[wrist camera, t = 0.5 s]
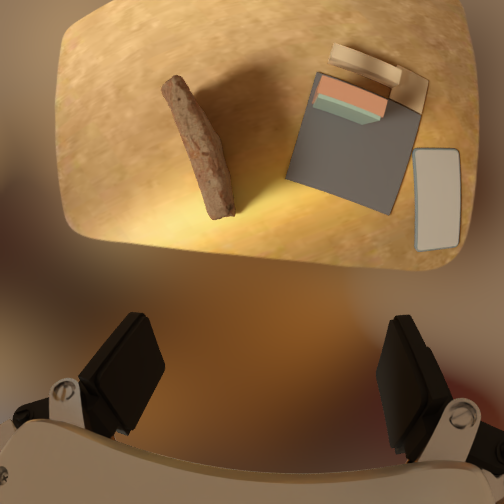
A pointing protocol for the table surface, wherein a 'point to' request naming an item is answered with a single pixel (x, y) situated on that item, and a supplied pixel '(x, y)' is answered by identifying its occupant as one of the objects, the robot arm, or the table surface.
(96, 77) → the table surface
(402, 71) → the turner
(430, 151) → the smartphone
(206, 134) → the stone
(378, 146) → the mat
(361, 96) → the tile
